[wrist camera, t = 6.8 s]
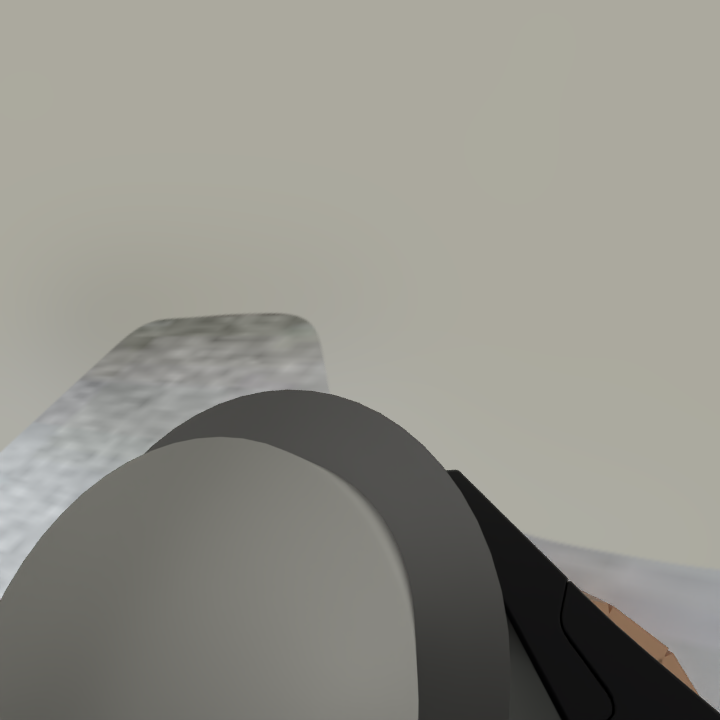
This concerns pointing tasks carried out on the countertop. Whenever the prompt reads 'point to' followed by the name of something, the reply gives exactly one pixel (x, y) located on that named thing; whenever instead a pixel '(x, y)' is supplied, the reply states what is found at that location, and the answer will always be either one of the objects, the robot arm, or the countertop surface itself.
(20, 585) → the pepper mill
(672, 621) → the countertop surface
